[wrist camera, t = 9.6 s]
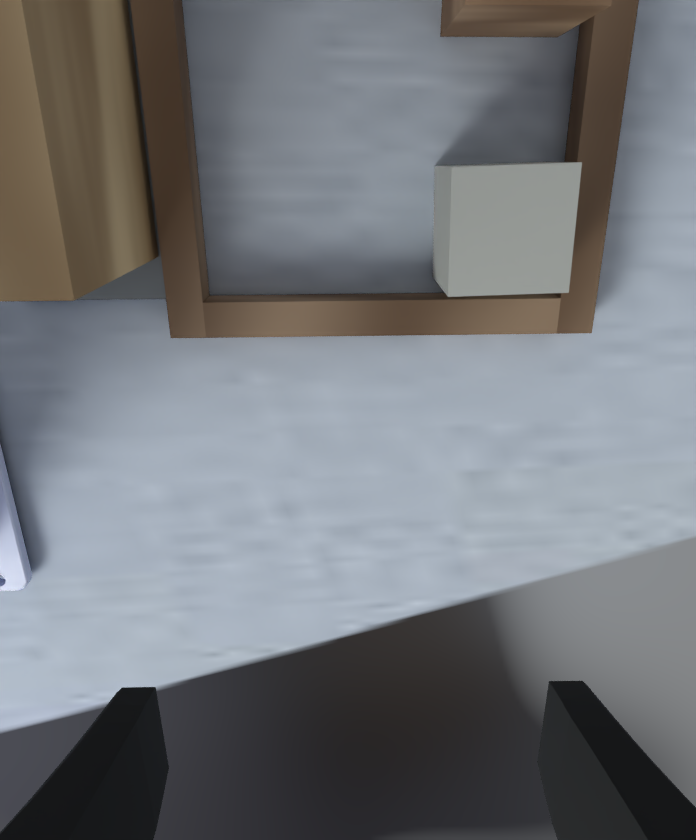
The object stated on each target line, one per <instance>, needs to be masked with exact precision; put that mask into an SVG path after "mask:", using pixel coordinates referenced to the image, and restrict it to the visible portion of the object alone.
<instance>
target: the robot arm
mask: <svg viewBox="0 0 696 840" xmlns="http://www.w3.org/2000/svg"><path fill="white" fill-rule="evenodd" d="M0 574H1V575H2V576H4V578H5V579H1V578H0V591H18V590H22V589H24V588H25V587H26V586H27V585H28V583H29V582H30V580H31V578H32V572H31V568H30V564H29V560H28V556H27V552H26V548H25V543H24V539H23V535H22V531H21V527H20V523H19V519H18V515H17V510H16V506H15V502H14V498H13V494H12V490H11V486H10V482H9V477H8V473H7V469H6V465H5V461H4V457H3V453H2V449H1V444H0ZM537 763H538V767H539V771H540V775H541V780H542V784H543V789H544V793H545V797H546V801H547V805H548V809H549V813H550V816H551V821H552V824H553V827H554V830H555V833H556V836H557V839H558V840H696V807H695V806H694V805H693V804H692V803H691V802H690V801H689V800H688V799H687V798H686V797H685V796H684V795H683V794H682V793H681V792H680V790H679V789H678V788H677V787H676V786H675V785H674V784H673V783H672V782H671V781H670V780H669V779H668V777H667V776H666V775H665V774H664V773H663V772H662V771H661V770H660V769H659V768H658V767H657V766H656V765H655V764H654V762H653V761H652V760H651V759H650V758H649V757H648V756H647V755H646V753H645V752H644V751H643V750H642V749H641V748H640V747H639V746H638V744H637V743H636V742H635V741H634V740H633V739H632V738H631V736H630V735H629V734H628V733H627V732H626V731H625V730H624V728H623V727H622V726H621V725H620V724H619V722H618V721H617V720H616V719H615V718H614V717H613V716H612V714H611V713H610V712H609V711H608V710H607V708H606V707H605V706H604V705H603V704H602V703H601V701H600V700H599V699H598V698H597V697H596V695H594V693H593V692H592V691H591V689H590V688H589V687H588V686H587V685H586V684H585V683H584V682H583V681H549V686H548V693H547V699H546V706H545V713H544V721H543V727H542V733H541V741H540V747H539V754H538V761H537ZM168 769H169V766H168V760H167V754H166V748H165V742H164V736H163V730H162V724H161V718H160V712H159V706H158V700H157V694H156V688H155V687H136V688H121V689H120V690H119V691H118V692H117V693H116V694H115V696H114V697H113V698H112V699H111V701H110V702H109V703H108V705H107V706H106V707H105V708H104V710H103V711H102V712H101V714H100V715H99V716H98V717H97V719H96V720H95V721H94V723H93V724H92V725H91V727H90V728H89V729H88V730H87V732H86V733H85V734H84V735H83V736H82V738H81V739H80V740H79V741H78V743H77V744H76V745H75V747H74V748H73V749H72V750H71V751H70V753H69V754H68V755H67V756H66V757H65V759H64V760H63V761H62V762H61V764H60V765H59V766H58V767H57V768H56V769H55V771H54V772H53V773H52V774H51V776H50V777H49V778H48V779H47V780H46V781H45V782H44V784H43V785H42V786H41V787H40V788H39V790H38V791H37V792H36V793H35V794H34V795H33V797H32V798H31V799H30V800H29V801H28V802H27V804H26V805H25V806H24V807H23V808H22V809H21V810H20V811H19V812H18V814H16V816H15V817H14V818H13V819H12V820H11V821H10V822H9V823H8V824H7V825H6V827H5V828H4V829H3V830H2V831H1V832H0V840H153V838H154V835H155V831H156V827H157V823H158V818H159V814H160V809H161V804H162V799H163V794H164V789H165V784H166V779H167V774H168Z"/></svg>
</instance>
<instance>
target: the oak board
mask: <svg viewBox="0 0 696 840" xmlns="http://www.w3.org/2000/svg"><path fill="white" fill-rule="evenodd" d="M157 257H159V256H158V248H157V240H156V231H155V223H154V215H153V207H152V198H151V190H150V182H149V174H148V166H147V157H146V149H145V141H144V133H143V124H142V116H141V108H140V100H139V92H138V83H137V75H136V67H135V59H134V51H133V42H132V34H131V26H130V18H129V9H128V1H127V0H0V301H74V300H76V299H78V298H80V297H82V296H84V295H86V294H88V293H90V292H92V291H94V290H95V289H97V288H99V287H101V286H103V285H105V284H107V283H109V282H111V281H113V280H115V279H117V278H119V277H121V276H122V275H124V274H126V273H128V272H130V271H132V270H134V269H136V268H138V267H140V266H142V265H144V264H146V263H147V262H149V261H151V260H153V259H155V258H157Z"/></svg>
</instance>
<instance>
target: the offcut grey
mask: <svg viewBox="0 0 696 840" xmlns="http://www.w3.org/2000/svg"><path fill="white" fill-rule="evenodd" d="M581 168H582V162H527V163H499V164H471V165H443V166H435V172H434V227H433V278H434V279H435V280H436V282H437V283H438V284H439V286H440V287H441V288H442V290H443V291H444V292H445V294H446V295H447V296H448V297H459V296H488V295H517V294H546V293H569V285H570V276H571V266H572V256H573V246H574V236H575V227H576V217H577V207H578V197H579V188H580V178H581Z"/></svg>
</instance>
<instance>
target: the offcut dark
mask: <svg viewBox="0 0 696 840" xmlns="http://www.w3.org/2000/svg"><path fill="white" fill-rule="evenodd" d="M611 4H612V0H442V14H441V33H440V37H559V36H560V35H562V34H564V33H566V32H567V31H569V30H571V29H572V28H574V27H576V26H577V25H579V24H581V23H583V22H584V21H586V20H588V19H589V18H591V17H593V16H594V15H596V14H598V13H600V12H601V11H603V10H605V9H606V8H608V7H610V6H611Z"/></svg>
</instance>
